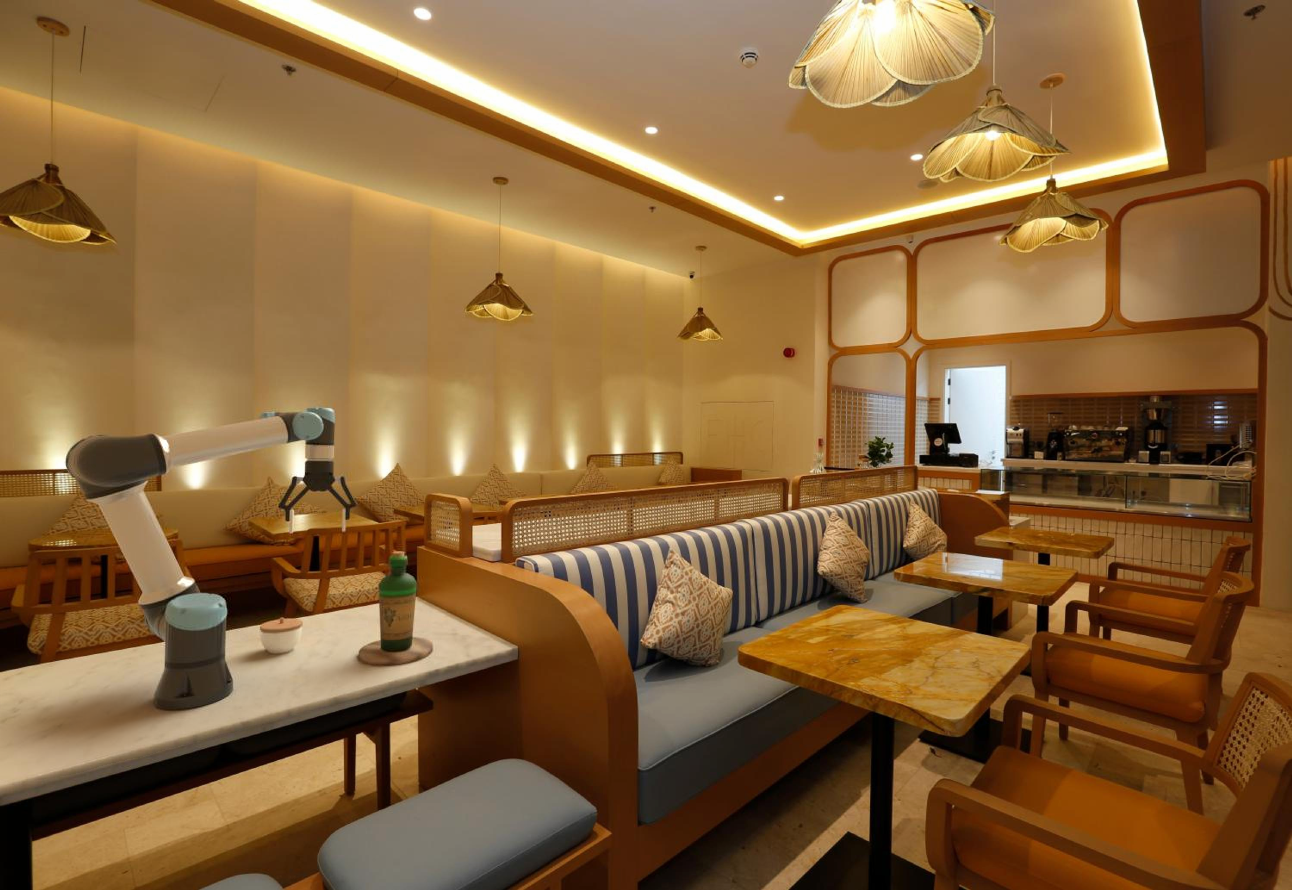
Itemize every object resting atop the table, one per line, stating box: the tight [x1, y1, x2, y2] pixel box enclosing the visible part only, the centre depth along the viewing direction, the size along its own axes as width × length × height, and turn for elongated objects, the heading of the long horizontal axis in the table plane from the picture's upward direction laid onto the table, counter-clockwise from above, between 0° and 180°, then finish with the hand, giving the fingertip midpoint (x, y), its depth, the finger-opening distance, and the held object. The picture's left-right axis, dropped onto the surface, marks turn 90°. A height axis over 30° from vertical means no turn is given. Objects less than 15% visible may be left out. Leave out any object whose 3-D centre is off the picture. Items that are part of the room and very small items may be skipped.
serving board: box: [358, 636, 434, 667], centre depth 176 cm, size 20×20×2 cm
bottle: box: [378, 550, 418, 652], centre depth 176 cm, size 11×11×28 cm
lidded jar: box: [259, 617, 303, 655], centre depth 176 cm, size 11×11×9 cm
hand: (317, 531), depth 177 cm, fingers open, 13 cm apart
